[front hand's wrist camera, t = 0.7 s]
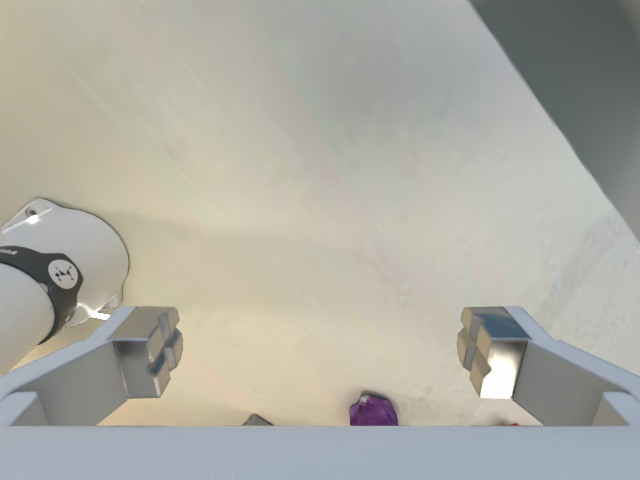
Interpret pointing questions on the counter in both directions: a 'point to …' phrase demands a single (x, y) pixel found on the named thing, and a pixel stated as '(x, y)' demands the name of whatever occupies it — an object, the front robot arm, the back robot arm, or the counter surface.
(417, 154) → the counter surface
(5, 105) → the counter surface
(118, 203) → the counter surface
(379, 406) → the figurine
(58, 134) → the counter surface
